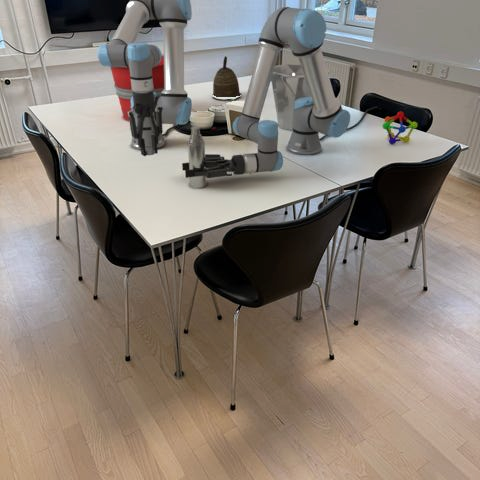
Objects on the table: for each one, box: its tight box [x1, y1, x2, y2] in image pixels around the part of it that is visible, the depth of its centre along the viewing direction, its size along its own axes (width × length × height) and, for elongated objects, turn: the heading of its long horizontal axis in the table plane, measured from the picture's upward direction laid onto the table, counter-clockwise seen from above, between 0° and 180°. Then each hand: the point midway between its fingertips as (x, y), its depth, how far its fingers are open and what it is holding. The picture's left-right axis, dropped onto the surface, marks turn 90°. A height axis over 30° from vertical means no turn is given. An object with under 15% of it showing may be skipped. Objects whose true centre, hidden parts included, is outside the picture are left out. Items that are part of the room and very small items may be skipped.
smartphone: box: [205, 153, 221, 169], centre depth 189 cm, size 7×1×15 cm
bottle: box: [187, 125, 207, 189], centre depth 164 cm, size 6×6×22 cm
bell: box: [212, 56, 242, 97], centre depth 278 cm, size 19×26×20 cm
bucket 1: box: [110, 55, 164, 122], centre depth 239 cm, size 35×35×30 cm
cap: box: [145, 147, 156, 156], centre depth 168 cm, size 4×4×2 cm
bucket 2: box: [270, 63, 330, 131], centre depth 226 cm, size 30×30×28 cm
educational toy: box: [382, 110, 418, 145], centre depth 207 cm, size 16×13×15 cm
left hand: (149, 153), depth 169 cm, fingers closed on cap, 4 cm apart
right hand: (184, 170), depth 165 cm, fingers closed on bottle, 6 cm apart
